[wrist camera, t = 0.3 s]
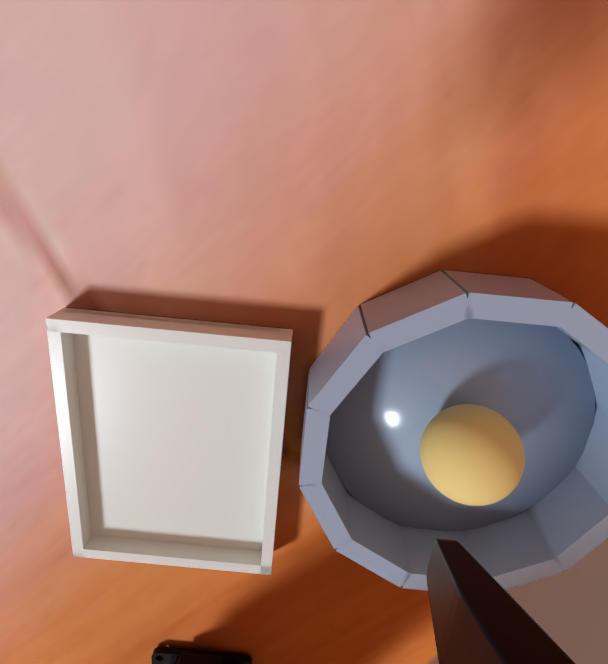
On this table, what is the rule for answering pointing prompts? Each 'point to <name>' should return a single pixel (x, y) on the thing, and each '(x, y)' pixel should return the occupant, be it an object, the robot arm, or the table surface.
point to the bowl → (449, 390)
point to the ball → (472, 454)
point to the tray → (170, 437)
